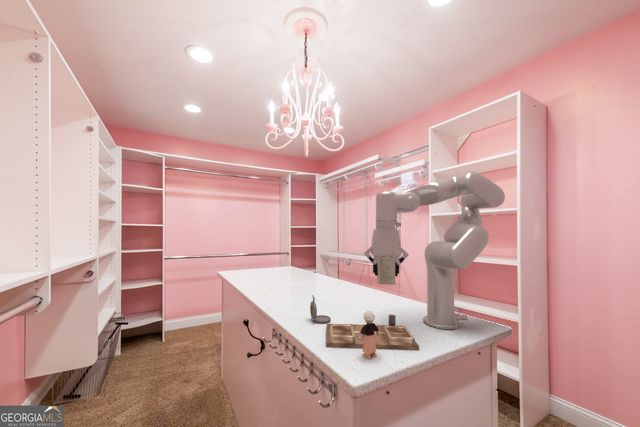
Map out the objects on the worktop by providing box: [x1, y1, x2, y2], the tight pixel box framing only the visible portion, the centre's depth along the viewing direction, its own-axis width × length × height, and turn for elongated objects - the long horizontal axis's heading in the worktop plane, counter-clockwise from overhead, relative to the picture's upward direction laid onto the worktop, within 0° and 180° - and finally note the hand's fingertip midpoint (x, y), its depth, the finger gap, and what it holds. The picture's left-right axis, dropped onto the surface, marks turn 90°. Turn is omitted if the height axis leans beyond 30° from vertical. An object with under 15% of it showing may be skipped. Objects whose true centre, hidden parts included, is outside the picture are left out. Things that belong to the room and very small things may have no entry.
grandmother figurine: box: [359, 309, 380, 360], centre depth 75 cm, size 8×4×13 cm, turn 133°
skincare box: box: [376, 251, 396, 286], centre depth 95 cm, size 6×4×12 cm
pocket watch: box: [309, 294, 332, 324], centre depth 102 cm, size 8×8×10 cm
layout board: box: [325, 314, 420, 351], centre depth 88 cm, size 28×16×6 cm, turn 88°
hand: (385, 274), depth 95 cm, fingers closed on skincare box, 6 cm apart
